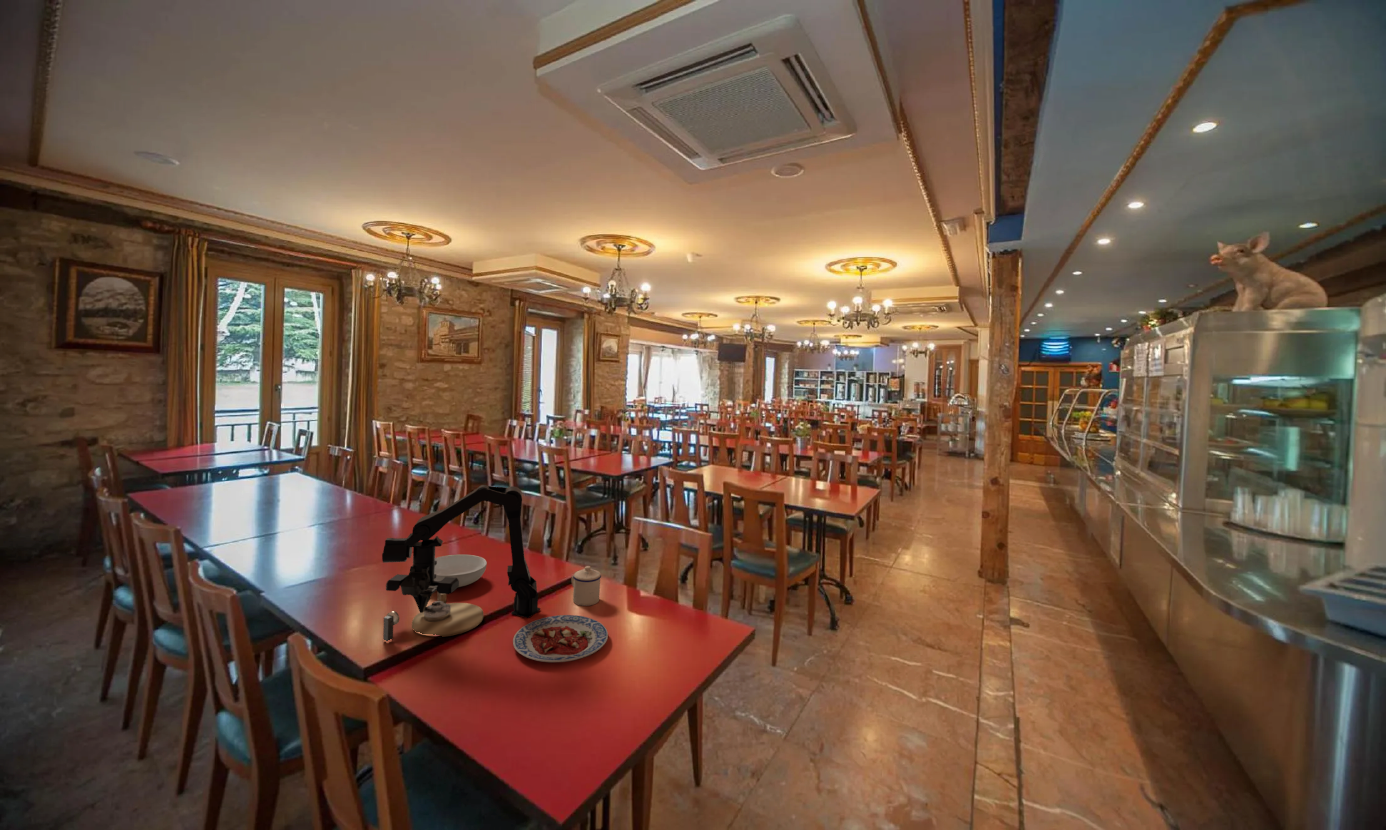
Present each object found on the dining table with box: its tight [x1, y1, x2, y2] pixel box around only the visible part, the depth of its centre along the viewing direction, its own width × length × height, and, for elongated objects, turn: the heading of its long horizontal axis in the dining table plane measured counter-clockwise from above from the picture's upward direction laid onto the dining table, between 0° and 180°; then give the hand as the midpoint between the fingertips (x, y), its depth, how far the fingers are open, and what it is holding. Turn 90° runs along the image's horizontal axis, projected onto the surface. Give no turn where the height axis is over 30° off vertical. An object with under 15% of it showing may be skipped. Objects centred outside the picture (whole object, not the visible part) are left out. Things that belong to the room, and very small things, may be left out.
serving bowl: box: [434, 554, 488, 588], centre depth 176 cm, size 21×21×7 cm
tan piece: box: [411, 591, 484, 638], centre depth 148 cm, size 21×19×5 cm
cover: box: [424, 600, 451, 622], centre depth 148 cm, size 7×7×4 cm
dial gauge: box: [382, 610, 400, 641], centre depth 136 cm, size 4×3×8 cm
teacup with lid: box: [571, 565, 602, 607], centre depth 169 cm, size 12×9×12 cm
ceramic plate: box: [512, 614, 609, 663], centre depth 141 cm, size 26×26×3 cm
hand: (422, 612), depth 148 cm, fingers closed
